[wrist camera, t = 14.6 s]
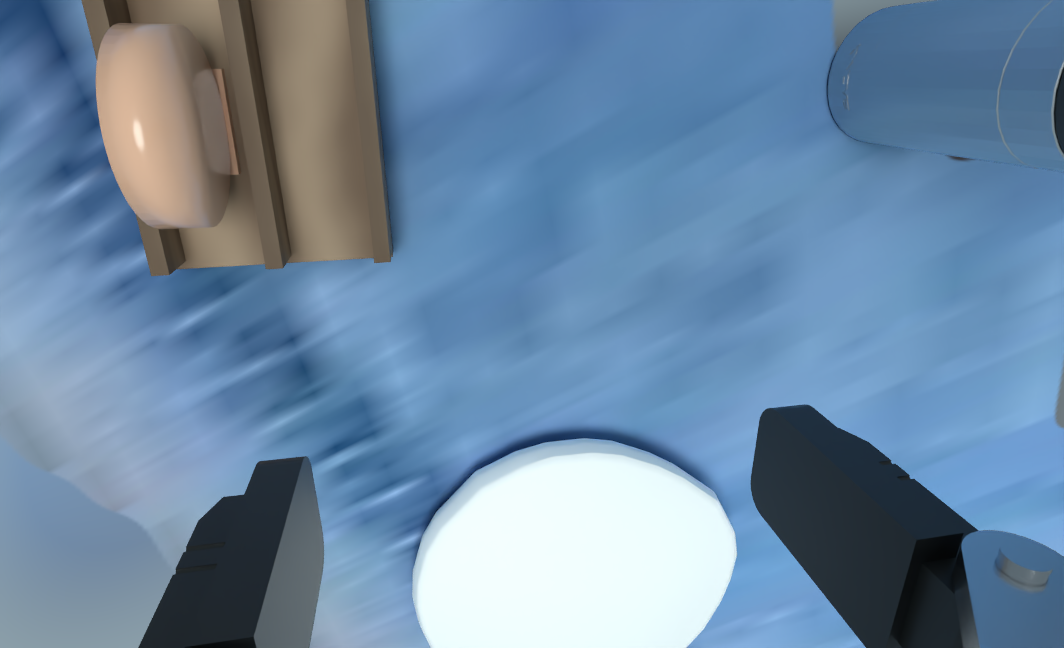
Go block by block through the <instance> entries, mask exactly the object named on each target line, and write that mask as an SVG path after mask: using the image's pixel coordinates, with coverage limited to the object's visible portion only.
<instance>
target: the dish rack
mask: <svg viewBox="0 0 1064 648" xmlns="http://www.w3.org/2000/svg"><path fill="white" fill-rule="evenodd" d="M82 4H83V8H84V12H85V16H86V19H87V23H88V27H89V31H90V35H91V39H92V43H93V47H94V51H95V55H96V59H98V53H99V49H100V45H101V42H102V40H103V37H104V35H105V34H106V32H107V31H108V29H109V28H110V27H112V26H113V25H115V24H117V23H148V24H181V25H183V26H185V27H186V28H188V29H189V30H190V31H191V32H192V33H193V34H194V36H195V37H196V39H197V40H198V42H199V43H200V45H201V47H202V49H203V51H204V53H205V55H206V57H207V59H208V61H209V64H210V66H211V69H224V72H225V78H226V84H227V90H228V96H229V102H230V108H231V114H232V120H233V126H234V132H235V138H236V144H237V150H238V156H239V162H240V168H241V174H239V175H230V189H229V198H228V203H227V207H226V211H225V214H224V216H223V218H222V220H221V222H220V223H219V224H218V225H217V226H215V227H209V228H177V229H156V228H153V227H151V226H149V225H147V224H146V223H145V222H143V221H142V220H141V219H140V218H139V217H138V216H137V214H136V217H137V221H138V225H139V229H140V233H141V237H142V241H143V245H144V249H145V253H146V257H147V261H148V265H149V269H150V273H151V276H159V275H170V274H171V273H172V272H173V271H175V270H176V269H188V268H206V267H223V266H241V265H258V264H265V267H266V269H279V268H284V266H285V265H286V263H293V262H310V261H328V260H345V259H363V258H374V263H382V262H391V257H393V247H392V236H391V226H390V216H389V205H388V195H387V185H386V175H385V164H384V154H383V144H382V133H381V123H380V113H379V102H378V92H377V82H376V71H375V61H374V51H373V41H372V30H371V20H370V10H369V0H82Z"/></svg>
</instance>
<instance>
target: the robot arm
mask: <svg viewBox="0 0 1064 648" xmlns="http://www.w3.org/2000/svg"><path fill="white" fill-rule="evenodd" d="M828 99H829V106H830V109H831V112H832V115H833V118H834V120H835V121H836V123H837V124H838V126H839V128H840V129H842V130H843V131H844V132H845V133H846V134H847V135H848V136H850V137H852V138H854V139H856V140H858V141H862V142H867V143H873V144H880V145H886V146H893V147H899V148H904V149H911V150H917V151H924V152H931V153H937V154H944V155H950V156H958V157H964V158H970V159H977V160H983V161H990V162H996V163H1003V164H1010V165H1016V166H1023V167H1029V168H1037V169H1045V170H1051V171H1058V172H1064V0H934V1H927V2H921V3H913V4H906V5H899V6H893V7H888V8H884V9H881V10H879V11H877V12H875V13H873V14H871V15H869V16H867V17H866V18H865V19H864V20H862V21H861V22H860V23H858V24H857V25H856V26H855V27H854V28H853V29H852V31H851V32H850V33H849V34H848V35H847V36H846V38H845V39H844V41H843V42H842V44H841V46H840V47H839V49H838V51H837V53H836V56H835V58H834V60H833V63H832V66H831V70H830V74H829V80H828ZM751 491H752V496H753V500H754V503H755V505H756V508H757V510H758V511H759V513H760V514H761V516H762V517H763V518H764V520H765V521H766V522H767V523H768V525H769V526H770V527H771V528H772V530H773V531H774V532H775V533H776V535H777V536H778V537H779V538H780V540H781V541H782V542H783V543H784V545H785V546H786V547H787V549H788V550H789V551H790V552H791V554H792V555H793V556H794V557H795V559H796V560H797V561H798V562H799V564H800V565H801V566H802V567H803V569H804V570H805V571H806V572H807V574H808V575H809V576H810V578H811V579H812V580H813V581H814V583H815V584H816V585H817V586H818V588H819V589H820V590H821V591H822V593H823V594H824V595H825V596H826V598H827V599H828V600H829V601H830V603H831V604H832V605H833V607H834V608H835V609H836V610H837V612H838V613H839V614H840V615H841V617H842V618H843V619H844V620H845V622H846V623H847V624H848V625H849V627H850V628H851V629H852V630H853V632H854V633H855V634H856V636H857V637H858V638H859V639H860V641H861V642H862V643H863V644H864V646H865V647H866V648H1064V556H1062V555H1060V554H1059V553H1057V552H1056V551H1054V550H1052V549H1050V548H1049V547H1047V546H1045V545H1043V544H1041V543H1038V542H1036V541H1034V540H1031V539H1028V538H1026V537H1023V536H1020V535H1016V534H1013V533H1008V532H1003V531H995V530H983V531H978V530H977V529H976V528H974V527H973V526H972V525H971V524H970V523H968V522H967V521H966V520H965V519H963V518H962V517H961V516H960V515H958V514H957V513H956V512H955V511H953V510H952V509H951V508H950V507H948V506H947V505H946V504H945V503H943V502H942V501H941V500H940V499H938V498H937V497H936V496H935V495H934V494H932V493H931V492H930V491H929V490H927V489H926V488H925V487H924V486H922V485H921V484H920V483H919V482H917V481H916V480H915V479H910V477H909V474H907V473H906V472H905V471H904V470H902V469H901V468H900V467H899V466H898V465H896V464H892V463H891V460H890V459H889V458H888V457H886V456H885V455H884V454H883V453H881V452H880V451H879V450H878V449H876V448H875V447H874V446H873V445H871V444H870V443H869V442H867V441H865V440H863V439H861V438H859V437H857V436H855V435H853V434H851V433H849V432H846V431H844V430H842V429H840V428H837V427H836V426H835V425H834V424H832V423H831V422H830V421H829V420H827V419H826V418H825V417H824V416H823V415H821V414H820V413H819V412H818V411H817V410H815V409H814V408H813V407H811V406H809V405H796V406H787V407H777V408H769V409H766V410H765V411H764V412H763V413H762V415H761V417H760V421H759V427H758V434H757V441H756V448H755V454H754V461H753V468H752V474H751ZM323 564H324V542H323V532H322V526H321V520H320V514H319V508H318V502H317V496H316V491H315V485H314V479H313V473H312V468H311V464H310V461H309V458H308V457H306V456H305V457H296V458H286V459H277V460H267V461H259V462H258V463H257V465H256V467H255V469H254V472H253V474H252V477H251V479H250V482H249V484H248V487H247V489H246V492H245V494H244V495H237V496H228V497H223V498H222V499H221V500H220V501H219V502H218V503H217V504H216V505H215V506H213V507H212V508H211V509H210V510H209V511H208V512H207V513H206V514H205V515H204V516H203V517H202V518H201V519H200V520H199V521H198V523H197V525H196V527H195V529H194V532H193V534H192V536H191V538H190V540H189V542H188V544H187V546H186V552H184V553H183V555H182V557H181V559H180V561H179V563H178V565H177V567H176V574H175V575H173V576H172V578H171V580H170V583H169V584H168V586H167V588H166V591H165V593H164V595H163V597H162V599H161V601H160V603H159V605H158V608H157V609H156V612H155V614H154V616H153V618H152V620H151V622H150V624H149V626H148V629H147V631H146V633H145V635H144V637H143V639H142V641H141V644H140V646H139V648H309V646H310V641H311V635H312V630H313V624H314V618H315V613H316V607H317V601H318V596H319V590H320V584H321V579H322V573H323Z"/></svg>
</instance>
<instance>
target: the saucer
mask: <svg viewBox="0 0 1064 648" xmlns="http://www.w3.org/2000/svg"><path fill="white" fill-rule="evenodd" d="M96 97H97V108H98V115H99V121H100V127H101V132H102V137H103V141H104V145H105V148H106V152H107V156H108V159H109V162H110V165H111V168H112V170H113V173H114V175H115V178H116V180H117V183H118V185H119V187H120V189H121V191H122V193H123V195H124V197H125V198H126V200H127V202H128V203H129V205H130V206H131V208H132V209H133V211H134V212H135V213H136V214H137V216H138V217H139V218H140V219H141V220H142V221H143V222H145V223H146V224H147V225H149V226H151V227H153V228H156V229H177V228H209V227H215V226H217V225H218V224H219V223H220V222H221V220H222V218H223V216H224V214H225V211H226V207H227V203H228V198H229V189H230V175H239V174H241V168H240V162H239V156H238V150H237V144H236V138H235V132H234V126H233V120H232V114H231V108H230V102H229V96H228V90H227V84H226V78H225V72H224V69H211V66H210V64H209V61H208V59H207V57H206V55H205V53H204V51H203V49H202V47H201V45H200V43H199V42H198V40H197V39H196V37H195V36H194V34H193V33H192V32H191V31H190V30H189V29H188V28H186V27H185V26H183V25H181V24H148V23H117V24H115V25H113V26H112V27H110V28H109V29H108V31H107V32H106V34H105V35H104V37H103V40H102V42H101V45H100V49H99V53H98V59H97V66H96Z"/></svg>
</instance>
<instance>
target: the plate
mask: <svg viewBox="0 0 1064 648" xmlns="http://www.w3.org/2000/svg"><path fill="white" fill-rule="evenodd" d="M736 557H737V550H736V539H735V532H734V530H733V527H732V525H731V523H730V521H729V519H728V517H727V515H726V513H725V511H724V510H723V508H722V506H721V504H720V502H719V500H718V498H717V496H716V494H715V493H714V491H713V490H711V489H710V488H708V487H707V486H705V485H704V484H703V483H701V482H700V481H698V480H697V479H695V478H694V477H692V476H691V475H689V474H688V473H686V472H685V471H683V470H682V469H680V468H679V467H677V466H676V465H674V464H672V463H671V462H669V461H666V460H664V459H662V458H660V457H658V456H656V455H654V454H652V453H649V452H647V451H644V450H641V449H637V448H634V447H631V446H628V445H624V444H621V443H618V442H615V441H611V440H600V439H588V438H580V439H571V440H562V441H553V442H545V443H541V444H538V445H535V446H531V447H528V448H525V449H521V450H518V451H515V452H513V453H511V454H509V455H507V456H505V457H503V458H501V459H499V460H497V461H495V462H493V463H491V464H489V465H487V466H485V467H483V468H481V469H479V470H477V471H475V472H474V473H473V474H472V475H471V476H470V477H469V478H468V479H467V481H466V482H465V483H464V484H463V485H462V486H461V487H460V488H459V489H458V490H457V491H456V492H455V493H454V494H453V495H452V496H451V497H450V498H449V499H448V500H447V501H446V502H445V503H444V504H443V506H442V507H441V508H440V509H439V510H438V511H437V512H436V513H435V515H434V517H433V518H432V520H431V522H430V523H429V525H428V527H427V529H426V530H425V532H424V534H423V536H422V539H421V543H420V546H419V550H418V554H417V557H416V561H415V565H414V568H413V585H412V596H413V602H414V606H415V610H416V614H417V618H418V621H419V624H420V626H421V629H422V631H423V633H424V635H425V637H426V639H427V641H428V643H429V645H430V647H431V648H686V647H687V646H688V645H689V644H690V643H691V642H692V641H693V640H694V639H695V638H696V637H697V636H698V635H699V633H700V632H701V631H702V630H703V629H704V628H705V626H706V624H707V623H708V621H709V620H710V618H711V616H712V615H713V613H714V612H715V610H716V608H717V607H718V605H719V603H720V602H721V600H722V598H723V595H724V593H725V591H726V589H727V586H728V584H729V582H730V579H731V575H732V572H733V568H734V564H735V560H736Z"/></svg>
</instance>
